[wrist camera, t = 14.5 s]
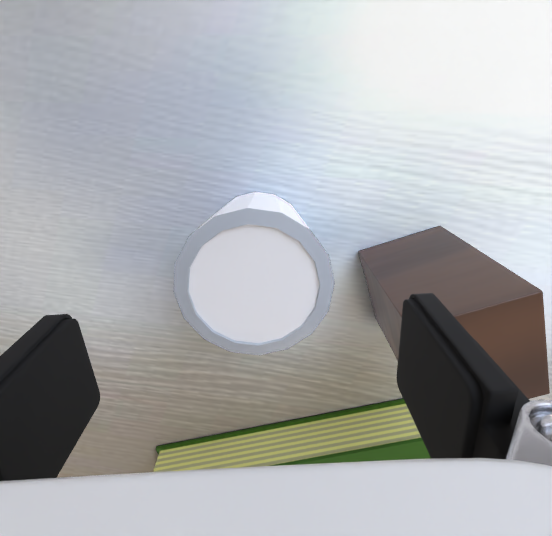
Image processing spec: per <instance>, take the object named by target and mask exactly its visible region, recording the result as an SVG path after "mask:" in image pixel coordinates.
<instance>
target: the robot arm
mask: <svg viewBox="0 0 552 536" xmlns="http://www.w3.org/2000/svg"><path fill="white" fill-rule="evenodd" d="M397 383H398V387H399V390H400V392H401V394H402V397H403V399H404V401H405V403H406V405H407V407H408V410H409V412H410V414H411V416H412V418H413V420H414V423H415V425H416V427H417V429H418V431H419V433H420V436H421V438H422V440H423V442H424V444H425V446H426V449H427V451H428V453H429V455H430V457H431V459H407V460H384V461H362V462H342V463H321V464H300V465H279V466H258V467H239V468H221V469H202V470H183V471H165V472H147V473H129V474H112V475H95V476H78V477H62V478H56V477H57V476H58V474H59V472H60V470H61V469H62V467H63V465H64V463H65V462H66V460H67V458H68V457H69V455H70V453H71V451H72V450H73V448H74V446H75V445H76V443H77V441H78V439H79V438H80V436H81V434H82V433H83V431H84V429H85V427H86V426H87V424H88V422H89V421H90V419H91V417H92V415H93V414H94V412H95V410H96V409H97V407H98V405H99V401H100V392H99V389H98V385H97V382H96V379H95V376H94V372H93V369H92V366H91V363H90V359H89V356H88V353H87V350H86V346H85V343H84V340H83V337H82V333H81V330H80V327H79V324H78V321H77V320H76V319H72V317H71V316H70V315H68V314H61V315H46V316H44V317H43V318H42V319H41V320H40V321H38V322H37V323H36V324H35V325H34V326H33V327H32V328H31V329H30V330H29V331H27V332H26V333H25V334H24V335H23V336H22V337H21V338H20V339H19V340H18V341H16V342H15V343H14V344H13V345H12V346H11V347H10V348H9V349H8V350H7V351H5V352H4V353H3V354H2V355H1V356H0V536H552V400H534V401H530V400H529V399H528V398H527V397H526V396H525V395H524V394H523V393H522V391H521V390H520V389H519V388H518V387H517V386H516V385H515V384H514V383H513V381H512V380H511V379H510V378H509V377H508V376H507V375H506V374H505V372H504V371H503V370H502V369H501V368H500V367H499V366H498V365H497V363H496V362H495V361H494V360H493V359H492V358H491V357H490V356H489V354H488V353H487V352H486V351H485V350H484V349H483V348H482V347H481V346H480V344H479V343H478V342H477V341H476V340H475V339H474V338H473V337H472V336H471V335H470V334H469V333H468V332H467V331H466V330H465V328H464V327H463V326H462V325H461V324H460V323H459V322H458V321H457V319H456V318H455V317H454V316H453V315H452V314H451V313H450V312H449V310H448V309H447V308H446V307H445V306H444V305H443V304H442V303H441V301H440V300H439V299H438V298H437V297H436V296H435V295H434V294H433V293H422V294H411V295H410V298H409V299H405V300H404V302H403V309H402V320H401V332H400V344H399V356H398V368H397Z"/></svg>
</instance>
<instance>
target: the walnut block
mask: <svg viewBox="0 0 552 536" xmlns="http://www.w3.org/2000/svg"><path fill="white" fill-rule="evenodd" d="M359 256H360V260H361V264H362V267H363V271H364V275H365V279H366V283H367V286H368V290H369V294H370V298H371V302H372V305H373V309H374V313H375V317H376V320H377V322H378V324H379V326H380V327H381V329H382V331H383V333H384V335H385V337H386V339H387V341H388V343H389V345H390V347H391V348H392V350H393V352H394V354H395V356H396V358H397V360H398V356H399V344H400V332H401V320H402V309H403V302H404V300H405V299H409V298H410V295H411V294H422V293H433V294H434V295H435V296H436V297H437V298H438V299H439V300H440V301H441V303H442V304H443V305H444V306H445V307H446V308H447V309H448V310H449V312H450V313H451V314H452V315H453V316H454V317H455V318H456V319H457V321H458V322H459V323H460V324H461V325H462V326H463V327H464V328H465V330H466V331H467V332H468V333H469V334H470V335H471V336H472V337H473V338H474V339H475V340H476V341H477V342H478V343H479V344H480V346H481V347H482V348H483V349H484V350H485V351H486V352H487V353H488V354H489V356H490V357H491V358H492V359H493V360H494V361H495V362H496V363H497V365H498V366H499V367H500V368H501V369H502V370H503V371H504V372H505V374H506V375H507V376H508V377H509V378H510V379H511V380H512V381H513V383H514V384H515V385H516V386H517V387H518V388H519V389H520V390H521V391H522V393H523V394H524V395H525V396H526V397H527V398H528V399H530V398H534V397H538V396H541V395H545V394H549V393H550V392H549V378H548V363H547V349H546V334H545V320H544V305H543V292H542V290H540V289H538V288H537V287H535V286H534V285H532V284H531V283H529V282H527V281H526V280H524V279H523V278H521V277H520V276H518V275H516V274H515V273H513V272H512V271H510V270H509V269H507V268H505V267H504V266H502V265H501V264H499V263H498V262H496V261H495V260H493V259H491V258H490V257H488V256H487V255H485V254H484V253H482V252H480V251H479V250H477V249H476V248H474V247H473V246H471V245H469V244H468V243H466V242H465V241H463V240H462V239H460V238H458V237H457V236H455V235H454V234H452V233H451V232H449V231H448V230H446V229H444V228H443V227H441V226H438V227H435V228H431V229H428V230H425V231H422V232H418V233H415V234H412V235H409V236H406V237H402V238H399V239H396V240H393V241H389V242H386V243H383V244H380V245H377V246H373V247H370V248H367V249H364V250H360V251H359Z"/></svg>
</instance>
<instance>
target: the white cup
mask: <svg viewBox="0 0 552 536" xmlns="http://www.w3.org/2000/svg"><path fill="white" fill-rule="evenodd" d="M334 284H335V282H334V278H333V273H332V268H331V264H330V259H329V254H328V253H327V252H326V250H325V249H324V248H323V246H322V245H321V244H320V242H319V241H318V240H317V238H316V237H315V235H314V234H313V233H312V231H311V230H310V229H309V227H308V226H307V225H306V223H305V222H304V221H303V219H302V218H301V217H300V215H299V214H298V213H297V211H296V210H295V209H294V207H293V206H292V205H291V204H290V203H288V202H287V201H285V200H283V199H282V198H280V197H278V196H276V195H275V194H268V193H261V192H252V193H248V194H244V195H240V196H237V197H235V198H234V199H233V200H232V201H230V202H229V203H228V204H226V205H225V206H224V207H222V208H221V209H220V210H219V211H218V212H217V213H215V214H214V215H213V216H212V217H211V218H209V219H208V220H207V221H206V222H205V223H204V224H202V225H201V226H200V227H199V228H198V229H197V230H195V231H194V232H193V233H192V234H191V235H190V236H189V237H188V239H187V241H186V243H185V245H184V246H183V248H182V250H181V252H180V254H179V256H178V258H177V260H176V262H175V271H174V291H173V292H174V294H175V297H176V299H177V302H178V304H179V307H180V309H181V312H182V315H183V317H184V319H185V320H186V321H187V322H188V323H189V324H190V325H191V326H192V327H193V328H194V329H195V330H196V331H197V332H198V333H199V335H200V336H201V337H202V338H203V339H205V340H207V341H209V342H211V343H213V344H215V345H217V346H219V347H221V348H223V349H225V350H227V351H229V352H235V353H244V354H252V355H263V354H268V353H272V352H277V351H281V350H286V349H289V348H290V347H292V346H293V345H295V344H297V343H298V342H300V341H301V340H303V339H304V338H306V337H308V336H309V335H311V334H312V333H313V332H314V330H315V329H316V327H317V326H318V325H319V323H320V322H321V321H322V319H323V318H324V317H325V315H326V314H327V312H328V311H329V307H330V302H331V298H332V293H333V289H334Z"/></svg>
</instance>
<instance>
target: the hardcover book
mask: <svg viewBox="0 0 552 536" xmlns="http://www.w3.org/2000/svg"><path fill="white" fill-rule="evenodd" d="M156 451H157V453H158V458H157V461H156V464H155V467H154V470H153V472H165V471H183V470H202V469H221V468H239V467H258V466H279V465H300V464H321V463H342V462H362V461H384V460H407V459H431V457H430V455H429V453H428V451H427V449H426V446H425V444H424V442H423V440H422V438H421V436H420V433H419V431H418V429H417V427H416V425H415V423H414V420H413V418H412V416H411V414H410V412H409V410H408V407H407V405H406V403H405V401H404V399H399V400H394V401H388V402H383V403H378V404H373V405H368V406H363V407H357V408H352V409H347V410H342V411H337V412H332V413H326V414H321V415H316V416H311V417H306V418H301V419H295V420H290V421H285V422H280V423H275V424H270V425H264V426H259V427H254V428H249V429H244V430H239V431H233V432H228V433H223V434H218V435H213V436H208V437H202V438H197V439H192V440H187V441H182V442H177V443H171V444H166V445H161V446H157V447H156Z"/></svg>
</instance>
